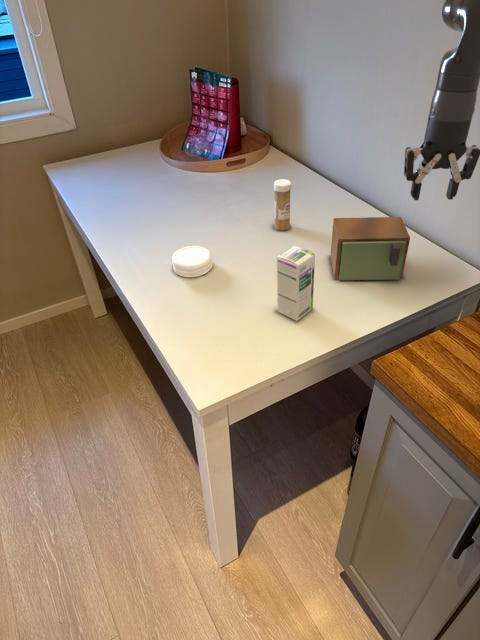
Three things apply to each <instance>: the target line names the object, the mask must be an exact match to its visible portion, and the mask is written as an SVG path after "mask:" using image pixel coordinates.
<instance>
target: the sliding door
mask: <svg viewBox="0 0 480 640" xmlns="http://www.w3.org/2000/svg"><path fill="white" fill-rule="evenodd" d="M405 248H406V241H368V242H343V244H342V254H341V263H340V273H339V279H338V280H339V281H379V280H380V281H381V280H383V281H384V280H385V281H386V280H390V281H391V280H392V281H393V280H400V279H401V278H400V273H401V268H402V263H403V258H404V253H405Z"/></svg>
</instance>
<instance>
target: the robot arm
mask: <svg viewBox="0 0 480 640" xmlns="http://www.w3.org/2000/svg"><path fill="white" fill-rule="evenodd" d="M441 17H442V21H443V23H444V25H445V26H446V27H448V28H449V29H451V30H453V31H456V32H461V37H460V39H459V42H458V44H457V46H456V47H453V48H451V49H449V50H447V51H446V52H445V53H444V54H443V56H442V58H441V61H440V65H439V69H438V75H437V79H436V84H435V89H434V91H433V96H432V98H431V102H430V107H429V113H428V117H427V123H426V128H425V133H424V138H423V142H422V144H421V145H420V147H414V148H412V147H411V146H407V147H406V148H404V150H405V151H404V166H403V175H404V177H405V179H406V181H408V182H411V187H410V196H411V198H412V199H413V200H414V201H419V199H420V194H421V189H422V185H423V183H422V182H423V180H424V178H425V177H426V176H427V175H429V174H430V173H431V171H432V170H438V169H443V170H449V173H450V175H451V178H449V181H448V185H447V190H446V193H445V194H446V195H445V196H446V198H447V200H450V201H451V200H453V199H454V198H455V197H456V196H457V195H458V190H459V186H460V183H461V182H462V181H464V180H470V179H471V178H472V177H473V174H474V171H475V168H476V166H477V164H478V162H479V158H480V148H479V147H478V146H477V145H476V144H473V145H471V146H467V144H466V143H467V141H468V136H469V133H470V129H471V125H472V120H473V116H474V114H475V111H476V104H477V98H478V96H477V95H478V90H479V86H480V0H444V2H443V5H442V9H441ZM419 155H421V157H422V160H421V161H420V163H419V164H418V166H417V168H416V170H415V171H414V165H415V161H416V160H417V159H418V156H419ZM464 155H465V157H466V159H465V160H464V165H463V166H462V169H461V171H460V167H459V165H458V161H459V160H460V159H461V158H462V157H463V156H464Z"/></svg>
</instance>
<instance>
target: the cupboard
mask: <svg viewBox="0 0 480 640" xmlns="http://www.w3.org/2000/svg"><path fill="white" fill-rule="evenodd" d="M332 221H333V222H332V232H331V242H330V243H331V245H330V254H329V255H330V256H329V257H330V258H329V259H330V263H331V268H332V274H333V279H334V280H339V273H340V263H341V254H342V244H343V242H368V241H406V248H405V253H404V258H403V263H402V268H401V273H400V278H399V279H403V276H404V271H405V266H406V262H407V258H408V251H409V247H410V242H411V236H410V233H409V232H408V229H407V227H406V225H405V223H404V221H403V218H402V217H401V216H377V217H375V216H374V217H372V216H371V217H370V216H369V217H333V220H332Z"/></svg>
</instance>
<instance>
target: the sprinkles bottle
mask: <svg viewBox="0 0 480 640" xmlns="http://www.w3.org/2000/svg"><path fill="white" fill-rule="evenodd" d="M273 182H274V183H273V191H274V198H273V199H274V201H273V210H274V211H273V217H274V225H273V227H274V229H275V230H277V231H287V230H289V229H290V228H291V223H290V222H291V190H292V182H291V181H290V180H289V179H284V178H281V179H277V180H275V181H273Z"/></svg>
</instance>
